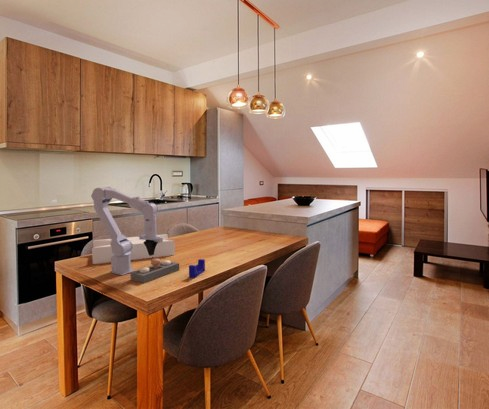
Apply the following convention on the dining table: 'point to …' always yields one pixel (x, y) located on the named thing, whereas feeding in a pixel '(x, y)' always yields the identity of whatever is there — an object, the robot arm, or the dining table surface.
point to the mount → (154, 272)
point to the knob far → (166, 262)
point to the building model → (139, 250)
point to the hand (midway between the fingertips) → (151, 255)
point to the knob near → (144, 270)
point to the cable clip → (197, 269)
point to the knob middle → (155, 263)
